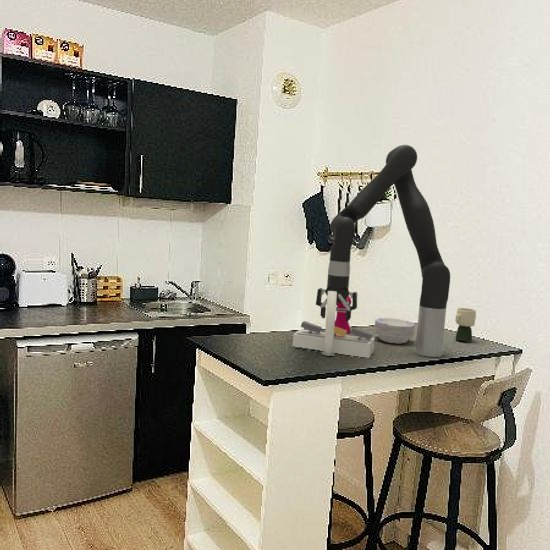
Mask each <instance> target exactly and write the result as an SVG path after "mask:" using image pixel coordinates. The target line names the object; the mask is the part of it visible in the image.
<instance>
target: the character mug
mask: <svg viewBox="0 0 550 550" xmlns="http://www.w3.org/2000/svg"><path fill="white" fill-rule="evenodd" d="M476 316H477V310H475V309H473V308H467V307H458V308H457V309H456V315H455V323H456V324H457V325H458V327H457V329H456V333H455V340H457V341H460V342H462V341H463V342H472V341H473V331H472V327H474V326H475V323H476V319H477V317H476Z"/></svg>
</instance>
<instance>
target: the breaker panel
mask: <svg viewBox="0 0 550 550" xmlns="http://www.w3.org/2000/svg"><path fill="white" fill-rule="evenodd" d="M292 335H293V337H292V347H293V346H295V347H302V348H308V349H315V350H320V351H324V341H325V330H321V332H320V333H316V332H313V331H311V330H308V329H305V328H300V329H299V330H297V331H296V332H294V333H293V334H292ZM375 340H376V338H375V337H371V339H370V340H368V339H365V338H362V337H360V336H357V335H354V334H351V333H350V334H346V335H345V336H344V337H343V336H340V335H338V334H335V333H334V339H333V353H338V354H345V355H351V356H350V357H353V356H359V357H358V358H360V357H367V358H369V357H370V358H371V356H372V355H373V353H374V352H373V351H375ZM338 354H337V355H338ZM371 354H372V355H371ZM345 355H344V356H345ZM367 358H366V359H367ZM370 358H369V359H370Z"/></svg>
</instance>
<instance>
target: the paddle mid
mask: <svg viewBox="0 0 550 550" xmlns="http://www.w3.org/2000/svg"><path fill="white" fill-rule="evenodd" d="M346 332H347V330H344V329H341V328H339V327H336V326H334V333H335V334H338V335H340V336H343V337H344V336H345V335H346Z"/></svg>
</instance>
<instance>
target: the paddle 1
mask: <svg viewBox="0 0 550 550" xmlns="http://www.w3.org/2000/svg"><path fill="white" fill-rule="evenodd" d="M300 328H301V329H304V328H305V329H308V330H311V331H313V332H316V333H320V332H321V330H322V329H323V326H319V325H317V324H314V323H311V322H308V321H305V320H303V321H302V322H301V325H300Z"/></svg>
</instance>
